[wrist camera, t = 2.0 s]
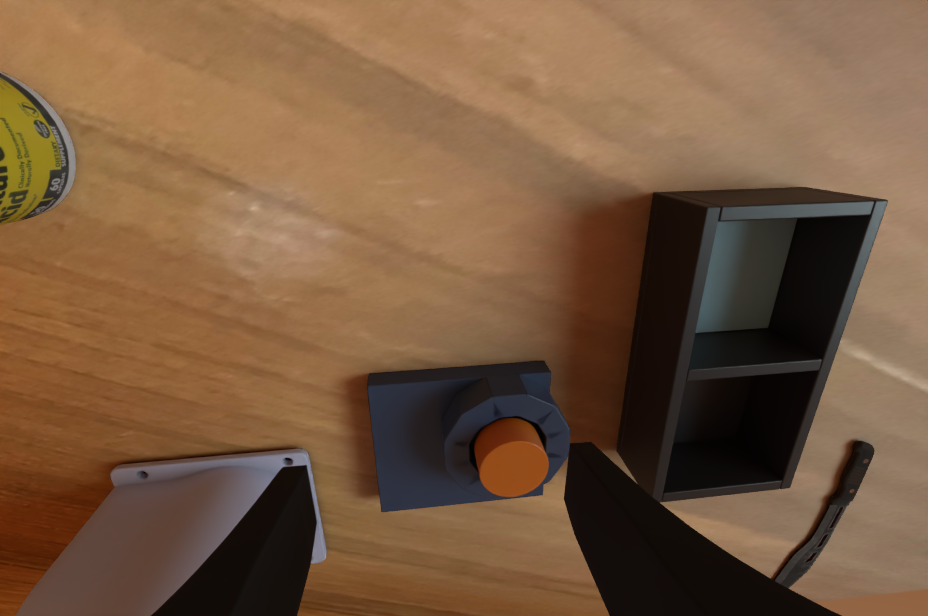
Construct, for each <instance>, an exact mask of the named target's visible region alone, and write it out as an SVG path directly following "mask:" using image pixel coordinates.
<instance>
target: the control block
mask: <svg viewBox="0 0 928 616" xmlns="http://www.w3.org/2000/svg"><path fill="white" fill-rule="evenodd" d="M550 380H551V371H550V370H549V368H548V366H547V365H546V363H545V361H535V362H522V363H508V364H495V365H481V366H468V367H454V368H441V369H427V370H414V371H400V372H387V373H373V374H369V377H368V384H367V391H368V399H369V408H370V417H371V425H372V434H373V443H374V452H375V460H376V469H377V478H378V486H379V495H380V504H381V512H389V511H398V510H408V509H417V508H426V507H436V506H445V505H455V504H464V503H473V502H483V501H492V500H502V499H511V498H520V497H530V496H539V495H543V485H544V484H546V483H547V482H549V481H550V480H551V479H552V478H553V476H554V475H555V474H556V472H557V471H558V470H559V468H560V467H561V466H562V464H563V463H564V462H565V460H566V459H567V457H568V454H569V443H570V432H571V430H570V427H569V425H568V424H567V422H566V420H565V418H564V416H563V414H562V413H561V411H560V409H559V407H558V406H557V404H556V402H555V401H554V399H553V398H552V396H551V394H550ZM502 418H518V419H522V420H524V421H527V422H528V423H530V424H531V425H532V426H533V427H534V428H535V430H536V431H537V433H538V436H539V438H540V440H541V443H542V445H543V447H544V450H545V452H546V454H547V457H548V461H549V468H548V472H547V475H546V477H545V479H544V480H543V481H542V483H541V484H540V485H539V486H538V487H536V488H535V489H534V490H532V491H530V492H528V493H526V494H524V495H520V496H516V497H502V496H498V495H495V494H493V493H491V492H490V491H488V490H487V489H486V488H485V487H484V486H483V484H482V482H481V480H480V477H479V472H478V467H477V462H476V458H475V453H474V444H475V440H476V438H477V436H478V434H479V433H480V431H481V430H482V429H483V428H484V427H485V426H487V425H488V424H490V423H491V422H493V421H496V420H499V419H502Z"/></svg>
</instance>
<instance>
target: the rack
mask: <svg viewBox="0 0 928 616" xmlns="http://www.w3.org/2000/svg"><path fill="white" fill-rule="evenodd" d="M887 203H888V200H885V199H878V198H872V197H866V196H859V195H853V194H846V193H840V192H833V191H827V190H821V189H813V188H808V187H796V188H767V189H738V190H709V191H680V192H655V193H653V199H652V206H651V213H650V220H649V227H648V234H647V241H646V248H645V255H644V262H643V269H642V276H641V283H640V290H639V297H638V304H637V311H636V318H635V325H634V332H633V339H632V346H631V353H630V360H629V366H628V373H627V380H626V387H625V394H624V401H623V408H622V415H621V422H620V429H619V436H618V443H617V452H618V454H619V456H620V457H621V458H622V460H623V462H624V463H625V465H626V466H627V468H628V469H629V471H630V472H631V474H632V476H633V477H634V479H635V480H636V482H637V483H638V485H639V486H640V487H641V488H643V489H644V490H645V491H646V492H647V493H648V494H650V495H651V496H652V497H653V498H654V499H656V500H657V501H658V502H668V501H677V500H686V499H695V498H704V497H713V496H722V495H731V494H740V493H749V492H758V491H767V490H776V489H779V488H780V489H785V488H790V486H791V483H792V480H793V477H794V474H795V471H796V469H797V466H798V463H799V460H800V457H801V454H802V451H803V448H804V445H805V442H806V439H807V436H808V433H809V431H810V428H811V425H812V422H813V419H814V416H815V413H816V410H817V407H818V404H819V401H820V398H821V395H822V393H823V390H824V387H825V384H826V381H827V378H828V375H829V372H830V369H831V366H832V363H833V360H834V357H835V355H836V352H837V349H838V346H839V343H840V340H841V337H842V334H843V331H844V328H845V325H846V322H847V320H848V317H849V314H850V311H851V308H852V305H853V302H854V299H855V296H856V293H857V290H858V287H859V284H860V282H861V279H862V276H863V273H864V270H865V267H866V264H867V261H868V258H869V255H870V252H871V249H872V246H873V244H874V241H875V238H876V235H877V232H878V229H879V226H880V223H881V220H882V217H883V214H884V211H885V208H886V206H887Z"/></svg>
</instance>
